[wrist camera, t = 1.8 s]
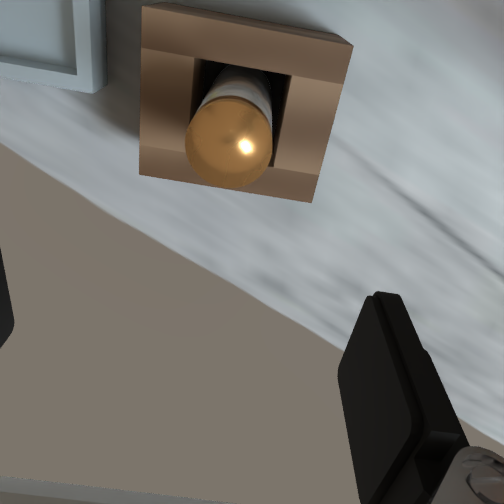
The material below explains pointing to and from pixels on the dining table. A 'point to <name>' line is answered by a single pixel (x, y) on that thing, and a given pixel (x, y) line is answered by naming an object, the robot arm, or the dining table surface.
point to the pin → (232, 129)
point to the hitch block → (248, 55)
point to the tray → (54, 43)
